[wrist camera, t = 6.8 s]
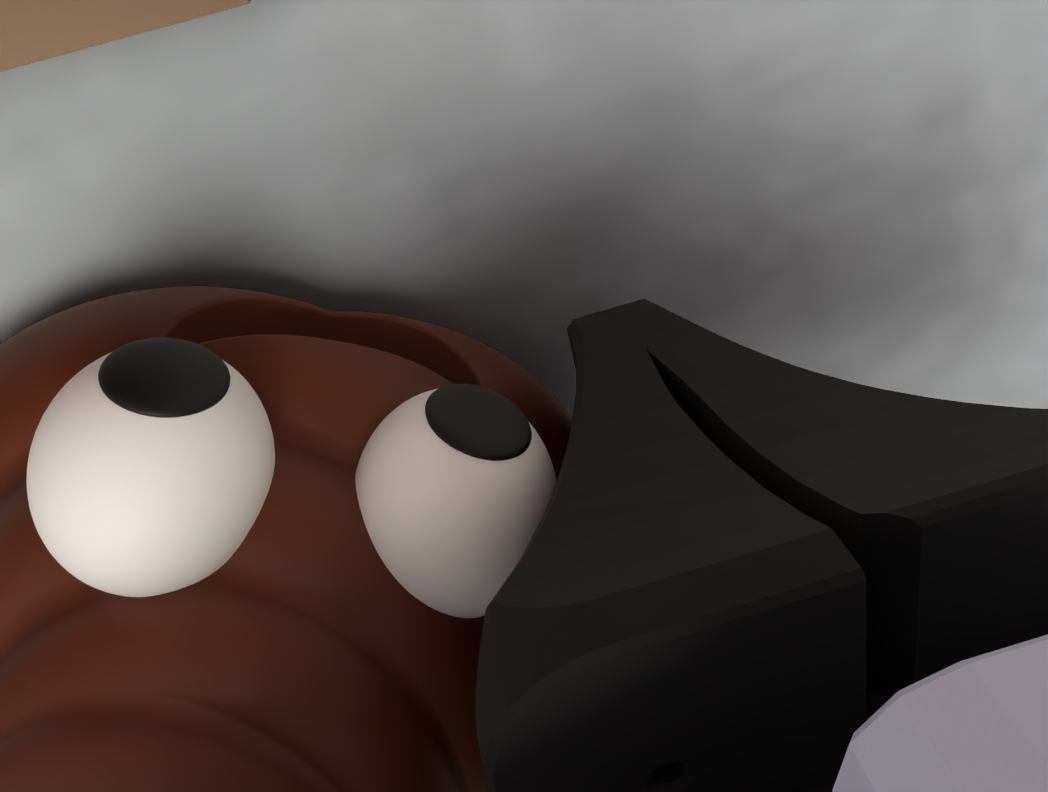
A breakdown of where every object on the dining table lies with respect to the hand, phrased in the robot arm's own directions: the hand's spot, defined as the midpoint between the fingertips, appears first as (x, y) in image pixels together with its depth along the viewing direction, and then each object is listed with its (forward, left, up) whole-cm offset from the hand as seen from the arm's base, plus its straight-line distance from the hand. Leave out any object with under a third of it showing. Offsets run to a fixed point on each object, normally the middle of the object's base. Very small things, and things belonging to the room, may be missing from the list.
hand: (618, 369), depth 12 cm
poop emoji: (-1, +5, -2) cm, 6 cm away
